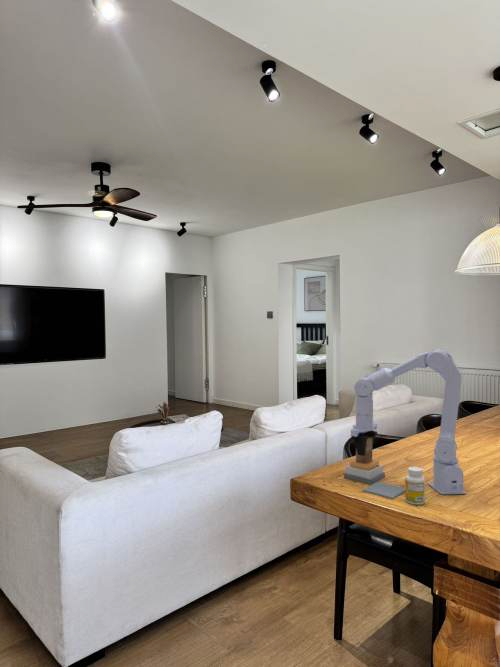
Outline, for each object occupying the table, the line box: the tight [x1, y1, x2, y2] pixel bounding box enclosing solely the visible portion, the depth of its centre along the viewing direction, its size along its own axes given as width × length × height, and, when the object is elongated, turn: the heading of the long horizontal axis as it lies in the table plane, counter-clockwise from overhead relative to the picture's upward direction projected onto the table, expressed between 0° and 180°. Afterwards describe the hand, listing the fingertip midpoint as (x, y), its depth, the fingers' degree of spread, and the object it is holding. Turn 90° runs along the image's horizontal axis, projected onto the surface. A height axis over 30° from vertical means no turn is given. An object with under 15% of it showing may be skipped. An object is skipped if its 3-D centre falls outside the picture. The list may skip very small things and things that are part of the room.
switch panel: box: [343, 463, 386, 486], centre depth 159 cm, size 10×10×4 cm
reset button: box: [349, 458, 380, 471], centre depth 158 cm, size 7×7×2 cm
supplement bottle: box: [405, 466, 426, 506], centre depth 137 cm, size 5×5×10 cm
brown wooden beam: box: [355, 437, 373, 463], centre depth 158 cm, size 4×4×8 cm
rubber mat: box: [362, 481, 406, 500], centre depth 146 cm, size 10×10×1 cm
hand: (364, 453), depth 158 cm, fingers closed on brown wooden beam, 4 cm apart
